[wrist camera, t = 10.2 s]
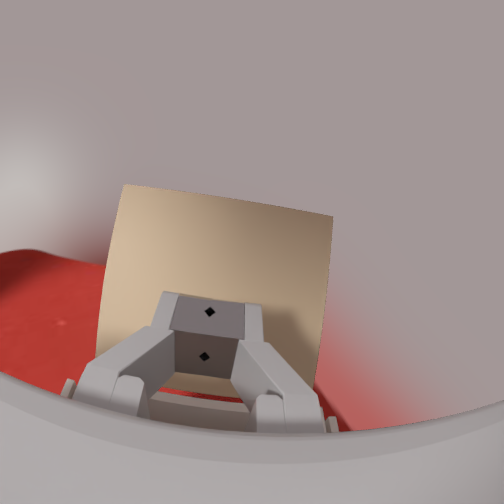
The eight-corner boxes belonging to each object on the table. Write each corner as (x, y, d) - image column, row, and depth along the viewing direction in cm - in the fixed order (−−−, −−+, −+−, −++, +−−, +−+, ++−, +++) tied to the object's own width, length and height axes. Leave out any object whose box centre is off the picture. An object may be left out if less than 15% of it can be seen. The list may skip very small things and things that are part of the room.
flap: (124, 184, 14) (126, 186, 15) (94, 371, 13) (97, 369, 13) (333, 216, 15) (330, 218, 16) (310, 402, 14) (308, 399, 14)
